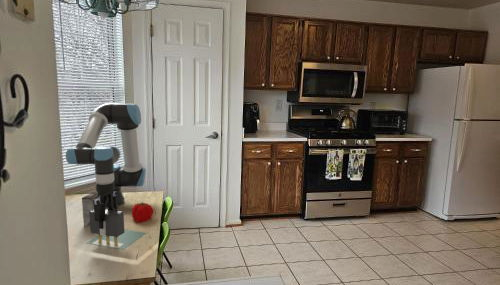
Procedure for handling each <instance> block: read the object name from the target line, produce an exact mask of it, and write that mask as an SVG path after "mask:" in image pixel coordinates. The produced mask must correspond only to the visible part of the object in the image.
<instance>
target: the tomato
mask: <svg viewBox="0 0 500 285" xmlns="http://www.w3.org/2000/svg"><path fill="white" fill-rule="evenodd" d="M153 214H154V208H153V206H152V205H151V204H149V203H146V202H143V201H142V202H140V203H135V204H134V205H133V206H132V209H131V217H132V219H133V220H134V222H136V223H144V222H147V221H150V220H151V219H152V217H153Z"/></svg>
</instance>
